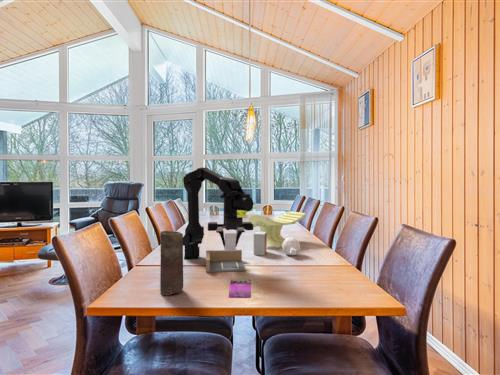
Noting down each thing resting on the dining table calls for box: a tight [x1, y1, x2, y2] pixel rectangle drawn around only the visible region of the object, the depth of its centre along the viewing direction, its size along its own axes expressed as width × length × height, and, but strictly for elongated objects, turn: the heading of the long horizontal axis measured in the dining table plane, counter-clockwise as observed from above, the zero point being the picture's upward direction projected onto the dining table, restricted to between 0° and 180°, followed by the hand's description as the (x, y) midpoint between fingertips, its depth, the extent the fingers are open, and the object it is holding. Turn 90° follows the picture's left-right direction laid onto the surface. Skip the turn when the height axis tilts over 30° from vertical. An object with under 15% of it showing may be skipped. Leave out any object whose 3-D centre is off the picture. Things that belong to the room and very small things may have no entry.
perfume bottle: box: [281, 236, 301, 257], centre depth 145 cm, size 9×9×12 cm
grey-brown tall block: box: [159, 230, 184, 296], centre depth 97 cm, size 8×7×20 cm
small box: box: [253, 231, 267, 256], centre depth 149 cm, size 8×6×10 cm
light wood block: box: [223, 232, 237, 251], centre depth 126 cm, size 8×4×7 cm, turn 8°
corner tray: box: [205, 249, 247, 274], centre depth 126 cm, size 16×16×5 cm
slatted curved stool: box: [248, 210, 307, 249], centre depth 171 cm, size 30×16×18 cm, turn 126°
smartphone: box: [228, 279, 252, 299], centre depth 100 cm, size 7×15×1 cm, turn 1°
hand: (230, 246), depth 123 cm, fingers closed on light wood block, 4 cm apart
